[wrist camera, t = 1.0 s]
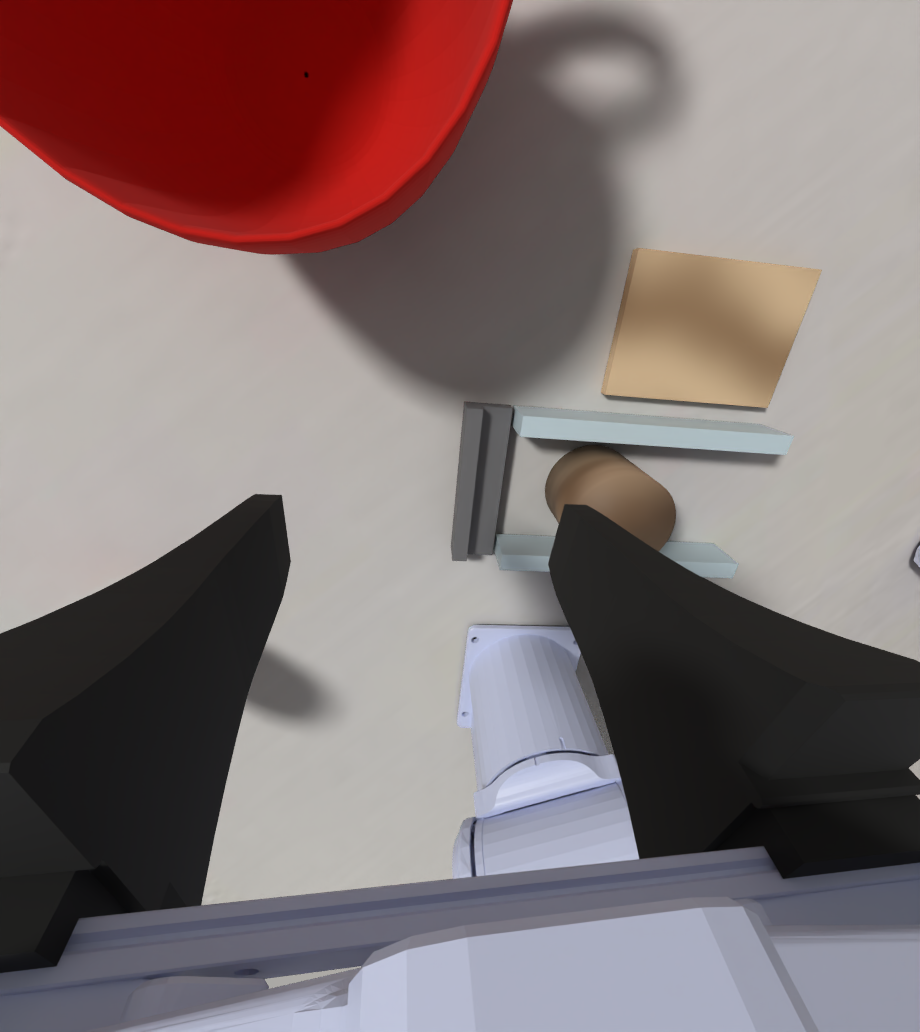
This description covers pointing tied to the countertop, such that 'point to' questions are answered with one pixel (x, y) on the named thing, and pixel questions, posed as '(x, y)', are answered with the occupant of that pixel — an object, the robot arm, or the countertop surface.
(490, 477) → the bar
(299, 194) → the ceramic cup
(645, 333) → the mat
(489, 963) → the robot arm
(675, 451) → the countertop surface
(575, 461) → the brown cylinder
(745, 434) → the channel
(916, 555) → the soap bottle
